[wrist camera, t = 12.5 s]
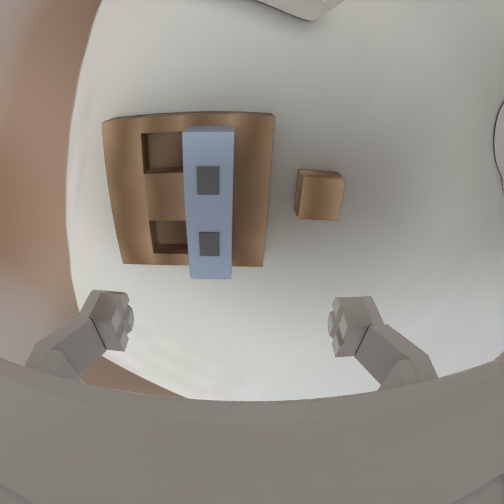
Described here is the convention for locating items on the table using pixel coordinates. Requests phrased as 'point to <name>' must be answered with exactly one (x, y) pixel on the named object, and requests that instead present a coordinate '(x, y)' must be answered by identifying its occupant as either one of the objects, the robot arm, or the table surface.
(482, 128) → the table surface
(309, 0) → the cable organizer
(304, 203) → the block
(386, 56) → the table surface
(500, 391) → the robot arm
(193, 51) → the table surface
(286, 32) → the table surface
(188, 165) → the strip
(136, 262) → the board
